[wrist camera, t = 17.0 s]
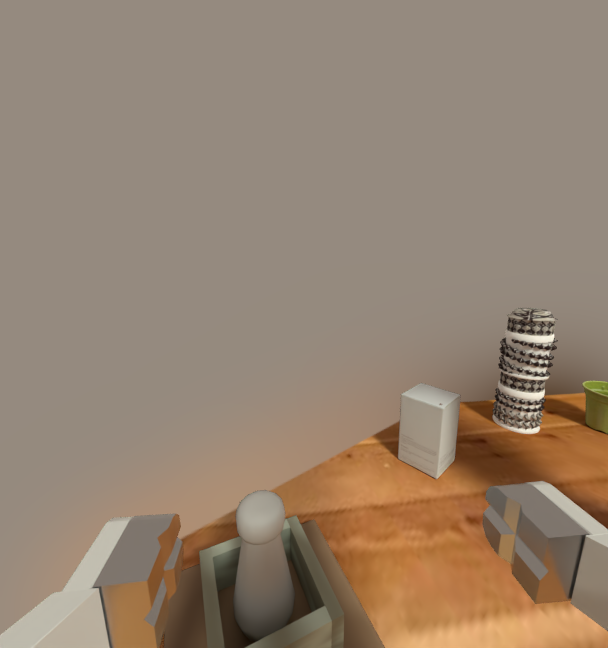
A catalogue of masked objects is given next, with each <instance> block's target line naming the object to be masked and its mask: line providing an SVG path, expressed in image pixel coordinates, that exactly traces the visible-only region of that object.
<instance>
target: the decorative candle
mask: <svg viewBox="0 0 608 648" xmlns="http://www.w3.org/2000/svg"><path fill="white" fill-rule="evenodd" d="M507 316H508V317H509V320H508V327H507V329H506V332H505V336H506V338H504V339H502V341H501V345H502V347H501V348H500V350H501V351H500V352H501V353H502V355H501V357H499V359H500V363H499V364H498V365H499V369H500V371H501V375H500V380H499V383H498V388H497V389H496V393H497V395H495V398H496V399H495V400H496V401H495V402H494V404H493V405H494V409H493V414H494V415H493V416H492V417H493V421H494V422H495V423H496V424H498V425H499V426H501V427H503V428H505V429H508V430H510V431H513V432H518V433H522V434H534V433H538V432H539V430H540V427H539V426H540V424H541V423H542V422H541V420H540V419H541V417H543V414H542V412H541V411H542V410H543V409H544V406H543V404H544V402H545V401H546V400H545V399H544V392H545V390H544V386H545V380H546V379H548V377H549V375H550V373H549V372H548V371H547V370H546V369H547V368H549V367H551V366H553V364H552V363H550V361H548V360H552V359H553V358H554V356H553V355H551V354H549V351H550V350H555V349H557V347H556V346H555V345H552V344H551V343H552V342H553V343H554V342H557V340H555V338H554V334H553V333H554V327H555V321H556V320H557V319H556V318H554V317H553V315H552V314H551V312H549V311H547V310H543V309H534V308H518V309H515V310H514V311H513V312H512V313H511V314H509V315H507ZM504 349H505V350H504Z"/></svg>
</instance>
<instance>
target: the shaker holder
mask: <svg viewBox="0 0 608 648" xmlns="http://www.w3.org/2000/svg"><path fill="white" fill-rule="evenodd" d="M280 534H281V538H282V542H283V546H284V550H285V555H286V559H287V563H288V567H289V571H290V575H291V580H292V584H293V587H294V591H295V598H294V606H293V613H292V615H291V617H290V619H289V621H288V622H287V624H286V626H285V627H283V628H281V629H280V630H278V631H276V632H274V633H272V634H270V635H268V636H266V637H264V638H262V639H261V640H259V641H251V640H249V638H248V637H247V636H246V635H245V634H244V633H243V632H242V630H241V628H240V627H239V625H238V623H237V622H236V620H235V616H234V606H233V597H234V590H235V584H236V577H237V570H238V563H239V557H240V550H241V543H242V538H241V536H239V537H236V538H234V539H231V540H228V541H226V542H223V543H220V544H218V545H215V546H212V547H210V548H207V549H204V550H201V551H199V556H200V564H198V565H196V566H193V567H190V568H188V569H185V570H183V571H181V576H180V580H179V584H178V587H177V591H176V592H175V593H174V594H173V595H172V597H171V598H170V599H169V600H168V605H169V617H168V621H167V624H166V627H165V634H164V648H385V647H384V645H383V643H382V641H381V640H380V638H379V636H378V634H377V632H376V631H375V629H374V627H373V625H372V623H371V621H370V620H369V618H368V616H367V614H366V612H365V611H364V609H363V607H362V605H361V603H360V601H359V600H358V598H357V596H356V594H355V592H354V591H353V589H352V587H351V585H350V583H349V582H348V580H347V578H346V576H345V574H344V572H343V571H342V569H341V567H340V565H339V563H338V562H337V560H336V558H335V556H334V554H333V552H332V551H331V549H330V547H329V545H328V543H327V542H326V540H325V538H324V536H323V534H322V533H321V531H320V529H319V527H318V525H317V523H316V522H315V520H311V521H309V522H306V523H304V524H300V522H299V520H298V518H297V516H296V515H295V516H293V517H290V518H287V519H285V521H284V526H283V530H282V532H281V533H280Z"/></svg>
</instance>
